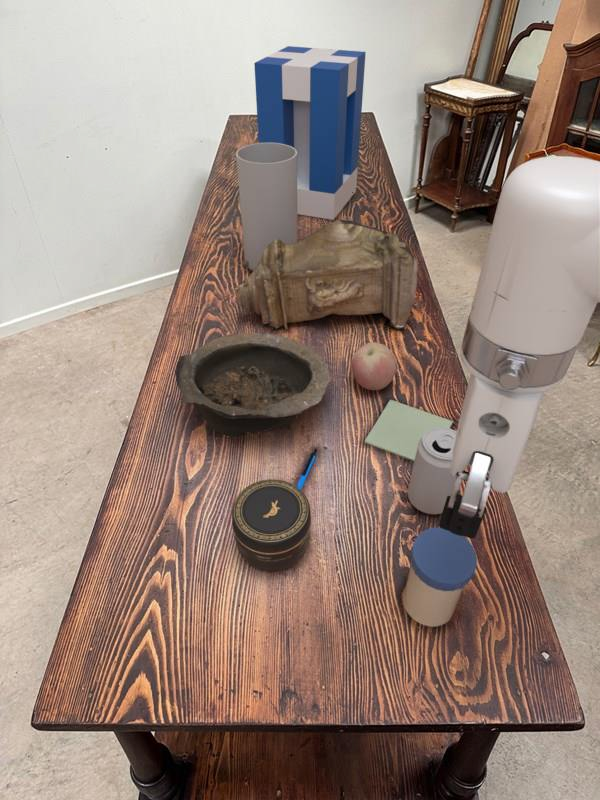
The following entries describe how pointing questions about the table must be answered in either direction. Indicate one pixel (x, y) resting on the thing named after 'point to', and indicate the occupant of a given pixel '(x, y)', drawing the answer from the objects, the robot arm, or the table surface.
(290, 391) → the stone bowl
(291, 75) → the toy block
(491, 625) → the table surface
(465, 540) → the jar lid
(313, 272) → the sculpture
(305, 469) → the pen
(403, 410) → the coaster
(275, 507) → the jar
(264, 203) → the cylinder vase
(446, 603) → the jam jar
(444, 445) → the beverage can
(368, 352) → the apple
